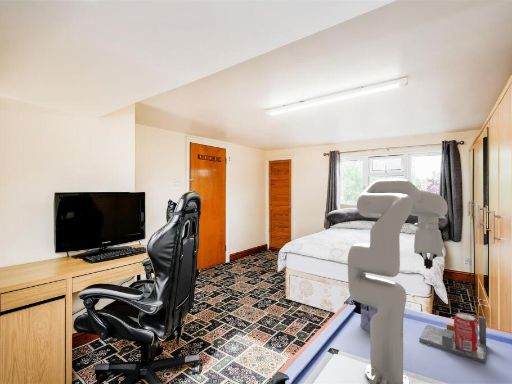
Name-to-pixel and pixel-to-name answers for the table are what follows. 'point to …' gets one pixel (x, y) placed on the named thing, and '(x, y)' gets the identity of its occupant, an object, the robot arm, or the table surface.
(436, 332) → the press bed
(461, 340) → the soda can
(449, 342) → the ram
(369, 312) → the aerosol can
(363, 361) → the table surface
